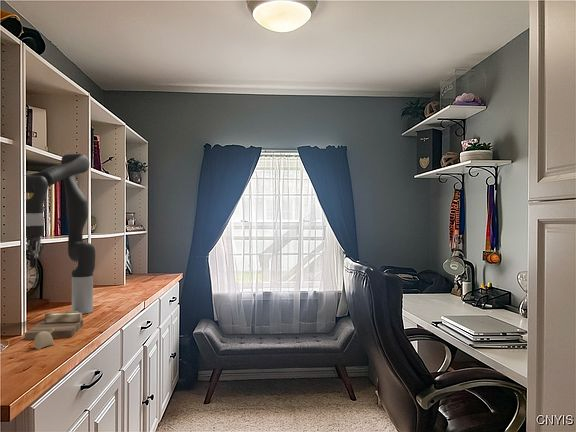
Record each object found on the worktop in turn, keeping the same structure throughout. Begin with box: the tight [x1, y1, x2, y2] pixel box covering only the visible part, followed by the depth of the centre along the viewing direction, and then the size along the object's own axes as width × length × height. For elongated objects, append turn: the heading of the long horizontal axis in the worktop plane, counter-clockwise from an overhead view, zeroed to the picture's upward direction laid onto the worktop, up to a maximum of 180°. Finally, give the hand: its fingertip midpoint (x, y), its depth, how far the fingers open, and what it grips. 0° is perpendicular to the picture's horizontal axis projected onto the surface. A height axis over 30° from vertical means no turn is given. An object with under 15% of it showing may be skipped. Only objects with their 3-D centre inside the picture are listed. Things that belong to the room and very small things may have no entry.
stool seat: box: [24, 310, 84, 341], centre depth 178 cm, size 20×16×6 cm
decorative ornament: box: [33, 328, 56, 350], centre depth 159 cm, size 4×8×5 cm, turn 157°
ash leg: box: [44, 312, 83, 323], centre depth 184 cm, size 14×3×3 cm, turn 99°
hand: (33, 267), depth 184 cm, fingers closed
